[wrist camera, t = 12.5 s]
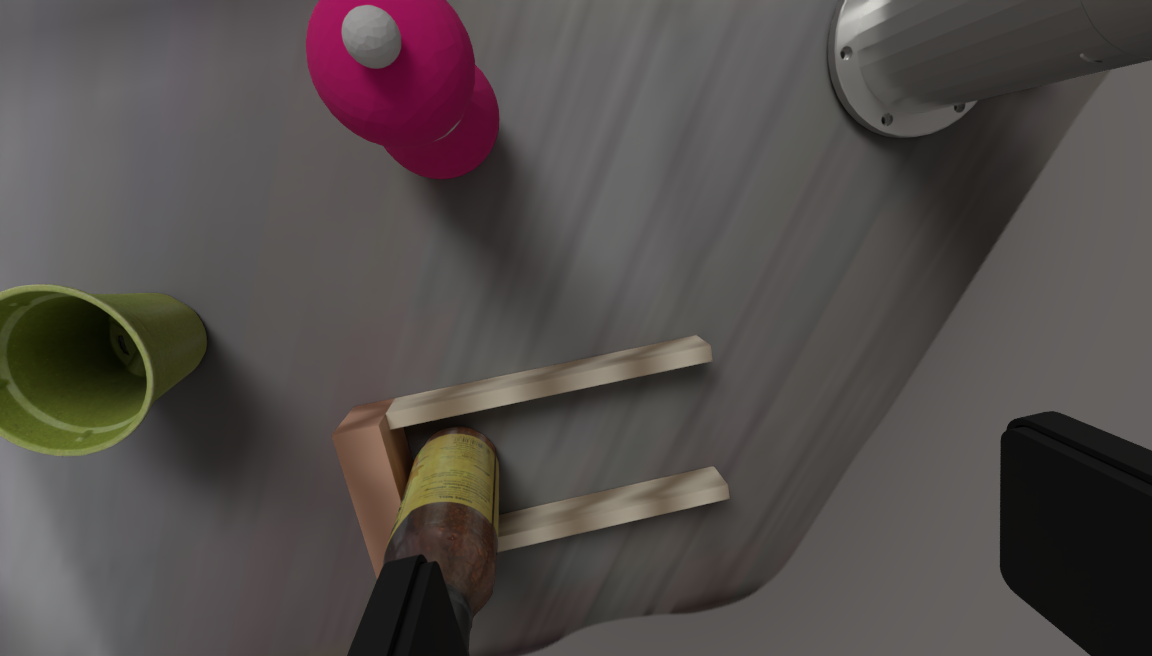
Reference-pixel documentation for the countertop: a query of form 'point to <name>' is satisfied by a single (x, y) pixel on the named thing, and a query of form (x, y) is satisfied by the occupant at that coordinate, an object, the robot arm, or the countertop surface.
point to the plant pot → (88, 364)
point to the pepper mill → (404, 81)
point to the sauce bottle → (453, 517)
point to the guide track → (379, 440)
